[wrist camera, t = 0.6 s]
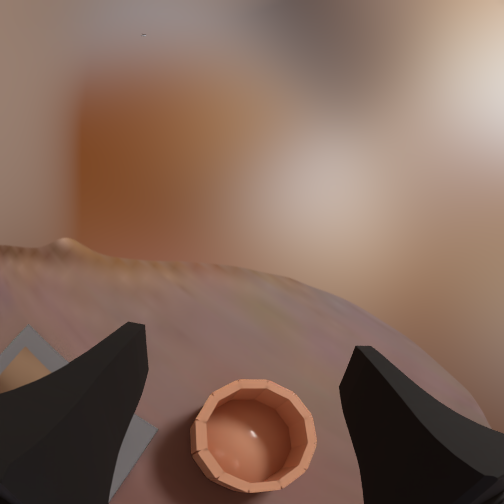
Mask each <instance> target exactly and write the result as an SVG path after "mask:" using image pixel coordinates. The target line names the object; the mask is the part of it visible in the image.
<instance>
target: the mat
mask: <svg viewBox="0 0 504 504" xmlns="http://www.w3.org/2000/svg"><path fill="white" fill-rule="evenodd" d="M25 346H26V347H27V348H28V350H29V351H30V352H31V353H32V354H33V355H34V356H35V357H36V358H37V359H38V360H39V361H40V362H41V363H42V364H43V365H44V366H45V367H46V368H47V369H48V370H49V371H50V372H51V373H52V372H54V371H56V370H58V369H60V368H62V367H63V366H65V365H67V364H68V363H69V362H67V361H66V360H65V359H64V358H63V357H62V356H61V355H60V354H59V353H58V352H56V351H55V350H54V349H53V348H52V347H51V346H50V345H49V344H48V343H47V342H46V341H45V340H44V339H43V338H42V337H41V336H40V335H39V334H38V333H37V332H36V331H35V330H34V329H33V328H32V327H31V326H30V325H29V324H28V325H27V326H26V327H25V328H24V329H23V330H22V331H21V332H20V334H19V335H18V336H17V337H16V338H15V339H14V340H13V341H12V342H11V343H10V344H9V346H8V347H7V348H6V349H5V350H4V351H3V352H2V353H1V354H0V375H1V373H2V372H3V371H4V370H5V369H6V367H7V366H8V365H9V364H10V363H11V362H12V360H13V359H14V358H15V357H16V356H17V355H18V354H19V353H20V351H21V350H22V349H23V348H24V347H25ZM157 431H158V429H157V428H155V427H154V426H152V425H151V424H149V423H148V422H146V421H145V420H143V419H142V418H140V417H139V416H137V415H136V414H134V415H133V417H132V420H131V422H130V424H129V427H128V429H127V432H126V434H125V437H124V439H123V442H122V445H121V448H120V451H119V454H118V458H117V462H116V466H115V471H114V475H113V480H112V485H111V490H110V495H109V502H110V500H111V499H112V497H113V496H114V494H115V493H116V491H117V490H118V489H119V487H120V486H121V484H122V483H123V481H124V480H125V478H126V477H127V475H128V474H129V472H130V471H131V469H132V468H133V467H134V465H135V464H136V462H137V461H138V459H139V458H140V456H141V455H142V453H143V452H144V450H145V449H146V447H147V446H148V444H149V443H150V441H151V440H152V438H153V437H154V435H155V434H156V432H157ZM109 502H108V503H109Z"/></svg>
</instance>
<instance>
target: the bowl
mask: <svg viewBox="0 0 504 504" xmlns="http://www.w3.org/2000/svg"><path fill="white" fill-rule="evenodd" d="M293 393H294V392H292V391H290V390H288V389H286V388H284V387H282V386H280V385H278V384H276V383H274V382H272V381H270V380H269V381H268V382H267V380H248V379H239V380H236V381H234V382H232V383H230V384H228V385H226V386H224V387H222V388H221V389H219V390H217V391H215V392H213V393H212V394H211V395H210V396H209V398H208V399H207V401H206V403H205V404H204V406H203V408H202V409H201V411H200V412H199V414H198V416H197V417H196V419H195V421H194V422H193V424H192V426H191V428H190V441H191V455H193V456H192V457H193V459H194V460H195V462H196V463H197V465H198V466H199V467H200V469H201V470H202V472H203V473H204V474H205V476H206V477H207V478H210V479H209V480H211V481H213V482H215V483H217V484H219V485H221V486H224V487H226V488H228V489H231V490H233V491H237V492H245V493H254V492H264V491H272V490H279V489H283V488H284V487H286V486H287V485H288V484H290V483H291V482H292V481H294V480H295V479H296V478H298V477H299V476H300V475H302V474H303V473H304V472H305V470H307V469H308V466H309V464H310V461H311V458H312V456H313V453H314V451H315V448H316V445H317V444H314V443H317V439H316V433H315V427H314V422H313V417H310V416H311V415H312V414H311V413H310V412H309V411H308V409H307V408H306V407H305V405H304V404H303V403H302V402H301V400H300V399H299V398H298V396H297V395H296V394H294V395H293Z"/></svg>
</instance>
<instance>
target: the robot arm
mask: <svg viewBox="0 0 504 504" xmlns="http://www.w3.org/2000/svg"><path fill="white" fill-rule="evenodd" d="M148 370H149V369H148V358H147V346H146V333H145V325H144V324H138V323H132V322H127V323H126V324H124V325H123V326H121V327H120V328H119V329H117V330H116V331H115V332H113V333H112V334H111V335H109V336H108V337H107V338H105V339H104V340H102V341H101V342H100V343H98V344H97V345H95V346H94V347H93V348H91V349H90V350H88V351H87V352H85V353H84V354H82V355H81V356H79V357H78V358H76V359H74V360H73V361H71V362H70V363H68V364H67V365H65V366H63V367H62V368H60V369H58V370H56V371H54V372H52V373H50V374H48V375H46V376H44V377H42V378H40V379H38V380H36V381H34V382H31V383H29V384H26V385H23V386H21V387H18V388H16V389H13V390H10V391H7V392H4V393H0V504H108V502H109V495H110V490H111V485H112V480H113V475H114V471H115V466H116V462H117V458H118V454H119V451H120V448H121V445H122V442H123V439H124V437H125V434H126V432H127V429H128V427H129V424H130V422H131V420H132V417H133V415H134V412H135V410H136V407H137V405H138V403H139V400H140V398H141V395H142V392H143V389H144V385H145V381H146V378H147V374H148ZM339 390H340V397H341V404H342V409H343V413H344V417H345V420H346V424H347V427H348V430H349V433H350V437H351V440H352V443H353V446H354V450H355V453H356V456H357V460H358V464H359V468H360V475H361V481H362V488H363V498H364V504H504V434H503V433H500V432H498V431H495V430H492V429H489V428H487V427H485V426H482V425H480V424H478V423H476V422H474V421H472V420H470V419H468V418H466V417H464V416H462V415H460V414H458V413H456V412H455V411H453V410H452V409H450V408H448V407H447V406H445V405H444V404H442V403H441V402H439V401H438V400H436V399H435V398H433V397H432V396H431V395H429V394H428V393H427V392H425V391H424V390H423V389H422V388H420V387H419V386H418V385H417V384H415V383H414V382H413V381H412V380H411V379H409V378H408V377H407V376H406V375H405V374H403V373H402V372H401V371H400V370H399V369H398V368H397V367H395V366H394V365H393V364H392V363H391V362H390V361H389V360H387V359H386V358H385V357H384V356H383V355H382V354H380V353H379V352H378V351H377V350H376V349H374V348H373V347H371V346H355V349H354V351H353V354H352V357H351V359H350V362H349V364H348V367H347V369H346V371H345V374H344V376H343V379H342V381H341V383H340V386H339Z"/></svg>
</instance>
